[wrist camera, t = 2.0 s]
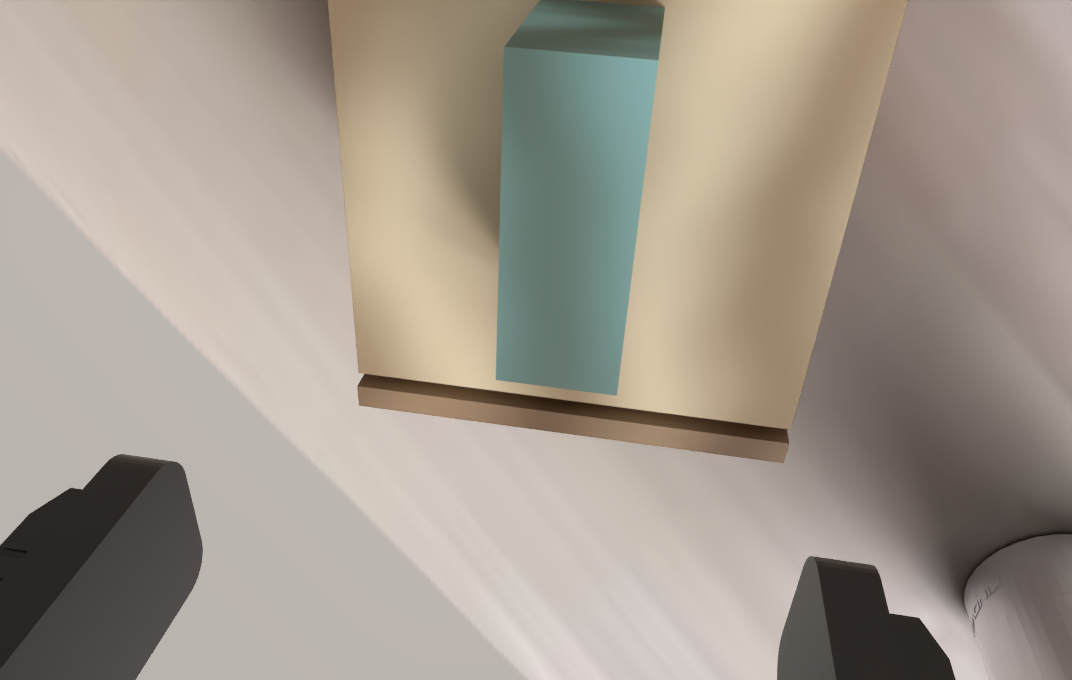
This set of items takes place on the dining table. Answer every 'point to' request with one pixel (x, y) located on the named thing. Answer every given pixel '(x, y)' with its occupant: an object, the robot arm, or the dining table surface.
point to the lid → (604, 191)
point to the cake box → (575, 418)
